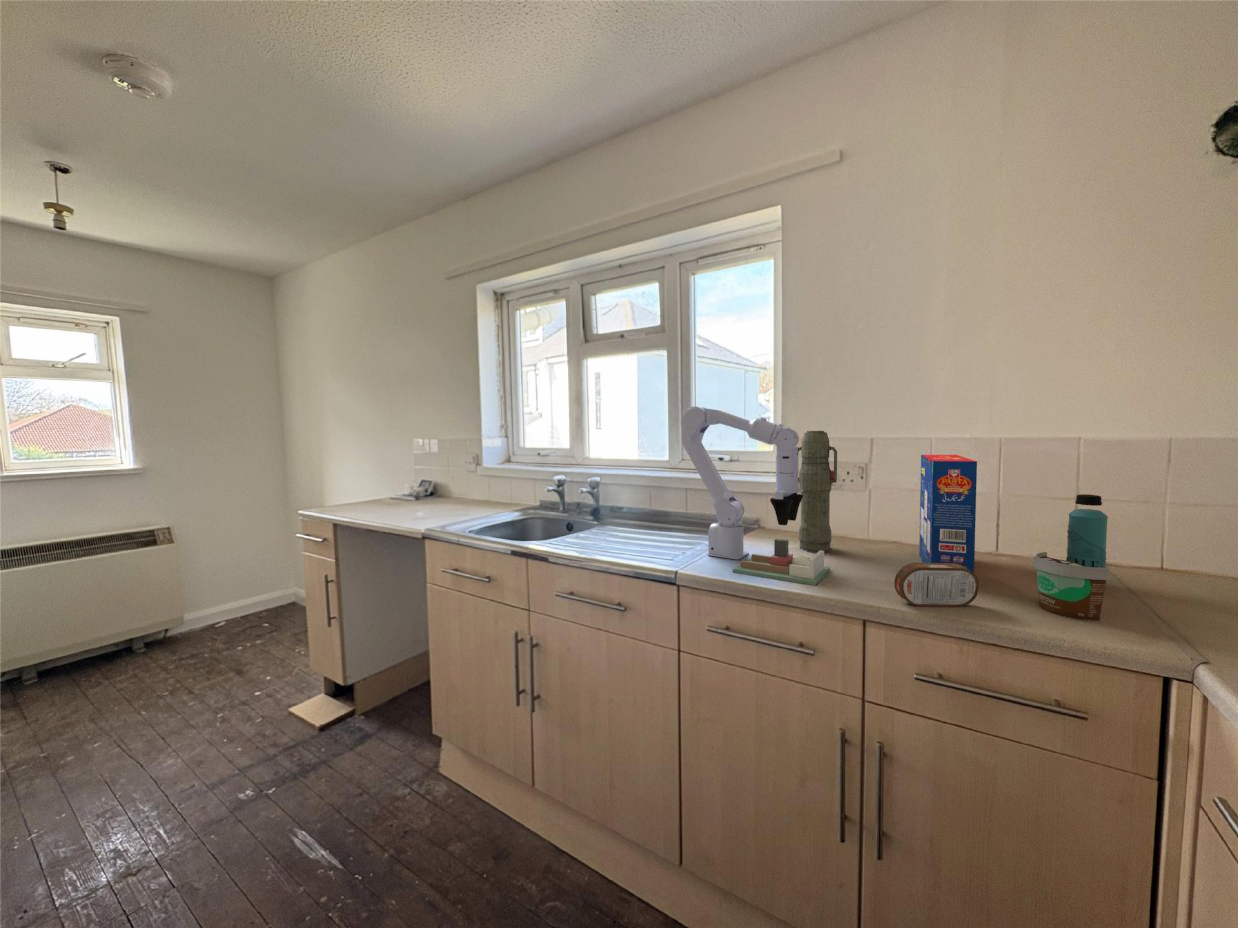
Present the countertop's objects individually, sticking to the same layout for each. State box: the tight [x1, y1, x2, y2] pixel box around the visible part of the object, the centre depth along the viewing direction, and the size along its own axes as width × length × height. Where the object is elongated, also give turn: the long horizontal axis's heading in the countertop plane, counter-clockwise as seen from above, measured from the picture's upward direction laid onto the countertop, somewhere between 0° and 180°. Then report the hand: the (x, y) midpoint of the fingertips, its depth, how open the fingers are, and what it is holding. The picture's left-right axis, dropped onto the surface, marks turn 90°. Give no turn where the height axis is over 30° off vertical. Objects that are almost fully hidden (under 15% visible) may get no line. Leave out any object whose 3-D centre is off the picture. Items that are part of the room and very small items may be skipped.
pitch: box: [732, 553, 831, 586], centre depth 121 cm, size 20×14×2 cm
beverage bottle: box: [1065, 493, 1109, 568], centre depth 106 cm, size 6×7×20 cm
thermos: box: [797, 430, 838, 553], centre depth 142 cm, size 9×12×35 cm
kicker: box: [770, 538, 794, 567], centre depth 121 cm, size 4×6×7 cm
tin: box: [893, 562, 980, 608], centre depth 96 cm, size 15×3×8 cm, turn 84°
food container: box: [1031, 551, 1111, 622], centre depth 91 cm, size 12×6×10 cm, turn 5°
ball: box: [792, 554, 809, 567], centre depth 118 cm, size 4×4×4 cm
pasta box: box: [918, 454, 978, 574], centre depth 119 cm, size 28×8×28 cm, turn 153°
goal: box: [789, 550, 825, 579], centre depth 117 cm, size 6×10×4 cm, turn 144°
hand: (787, 522), depth 131 cm, fingers open, 7 cm apart
